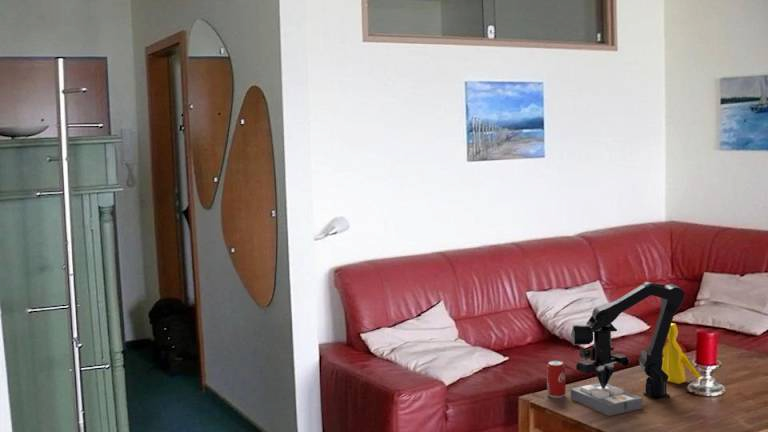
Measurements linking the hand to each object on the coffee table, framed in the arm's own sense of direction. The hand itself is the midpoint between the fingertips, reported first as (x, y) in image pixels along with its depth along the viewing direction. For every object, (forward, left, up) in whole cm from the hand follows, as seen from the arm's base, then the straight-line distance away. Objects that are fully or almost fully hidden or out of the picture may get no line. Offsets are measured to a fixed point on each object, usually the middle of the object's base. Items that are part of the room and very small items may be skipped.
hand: (603, 387), depth 289 cm
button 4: (0, +6, -1) cm, 6 cm away
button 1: (+6, 0, -1) cm, 6 cm away
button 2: (+6, +6, -1) cm, 9 cm away
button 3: (0, 0, -3) cm, 3 cm away
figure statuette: (-32, 0, -4) cm, 33 cm away
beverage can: (+13, -10, -4) cm, 16 cm away
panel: (+3, +5, -4) cm, 7 cm away
